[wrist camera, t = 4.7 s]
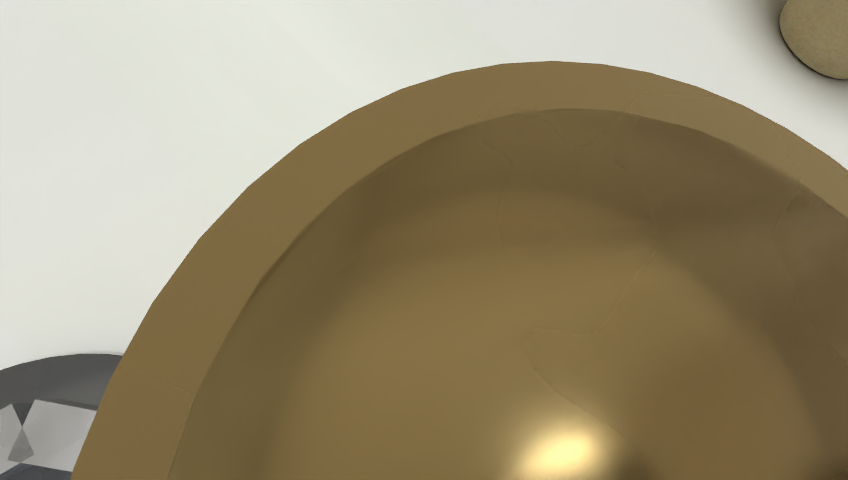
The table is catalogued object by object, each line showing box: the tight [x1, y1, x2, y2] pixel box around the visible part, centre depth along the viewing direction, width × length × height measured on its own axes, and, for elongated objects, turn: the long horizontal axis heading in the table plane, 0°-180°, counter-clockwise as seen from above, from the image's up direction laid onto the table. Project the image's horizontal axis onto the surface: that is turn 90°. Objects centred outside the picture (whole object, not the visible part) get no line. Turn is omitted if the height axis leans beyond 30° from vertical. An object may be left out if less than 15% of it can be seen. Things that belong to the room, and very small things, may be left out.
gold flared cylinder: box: [70, 61, 848, 480], centre depth 8 cm, size 6×6×13 cm
